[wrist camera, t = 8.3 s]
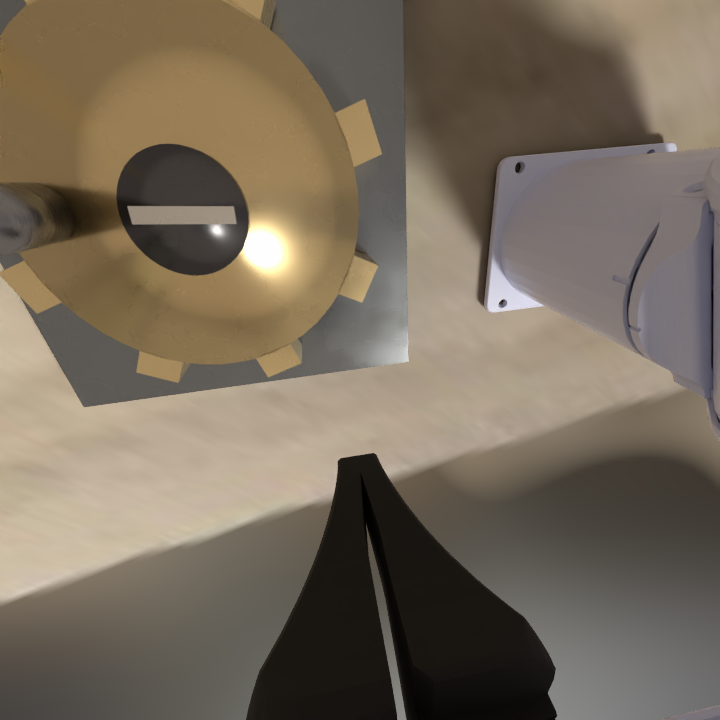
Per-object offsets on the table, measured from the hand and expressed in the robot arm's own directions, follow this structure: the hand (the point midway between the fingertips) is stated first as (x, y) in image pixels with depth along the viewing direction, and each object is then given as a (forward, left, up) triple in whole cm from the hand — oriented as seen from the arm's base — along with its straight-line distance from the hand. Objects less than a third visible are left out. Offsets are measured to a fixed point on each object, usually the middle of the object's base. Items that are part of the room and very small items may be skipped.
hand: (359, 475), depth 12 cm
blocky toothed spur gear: (+5, -9, -8) cm, 13 cm away
